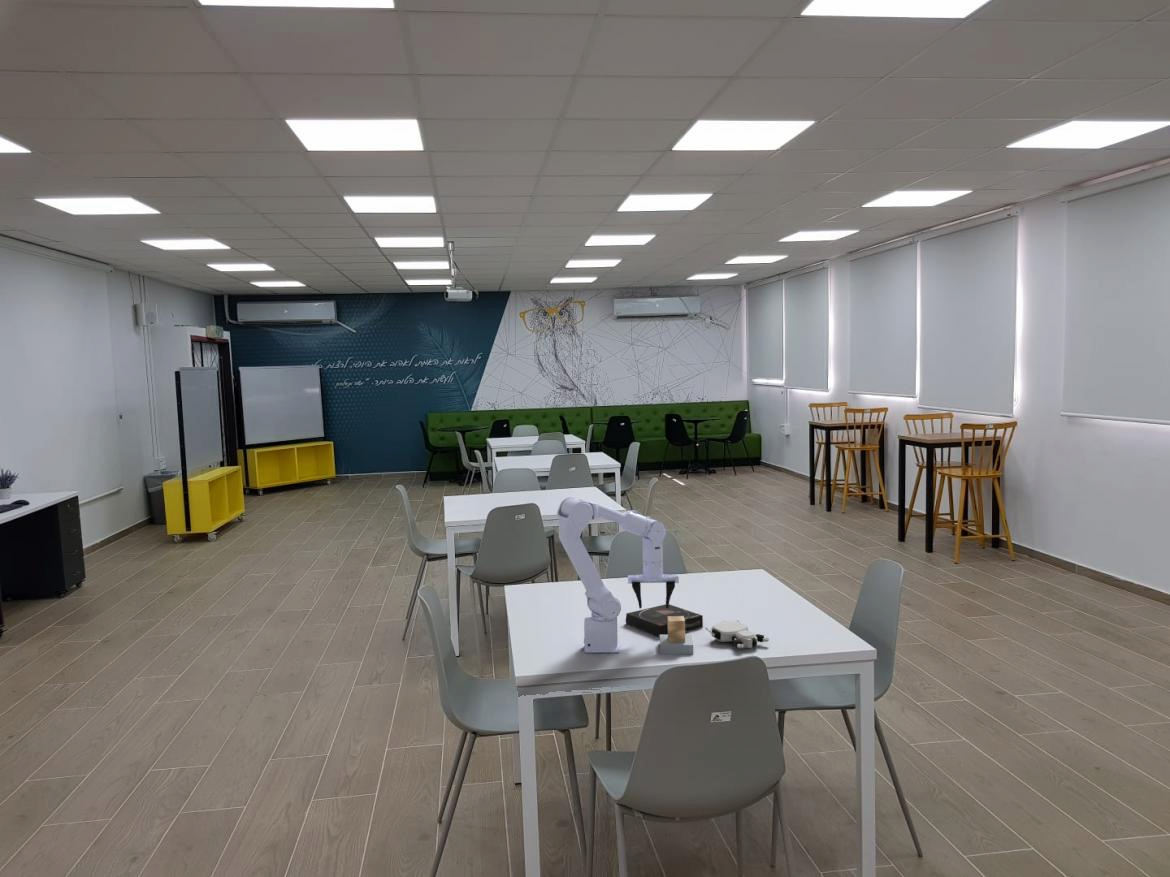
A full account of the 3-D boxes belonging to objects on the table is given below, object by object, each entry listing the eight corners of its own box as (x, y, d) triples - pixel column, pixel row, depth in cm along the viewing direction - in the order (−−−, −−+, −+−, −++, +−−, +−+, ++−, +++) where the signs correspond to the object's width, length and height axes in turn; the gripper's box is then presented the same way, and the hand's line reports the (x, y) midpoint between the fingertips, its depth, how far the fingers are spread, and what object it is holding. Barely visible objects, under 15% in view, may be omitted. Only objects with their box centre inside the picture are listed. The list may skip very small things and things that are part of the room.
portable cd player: (666, 615, 259) (666, 603, 258) (702, 628, 244) (702, 615, 244) (625, 625, 250) (625, 612, 249) (660, 639, 235) (660, 626, 235)
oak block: (669, 642, 223) (668, 621, 223) (667, 637, 228) (667, 616, 227) (685, 642, 223) (684, 620, 223) (683, 636, 228) (683, 616, 227)
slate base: (660, 655, 222) (660, 645, 222) (659, 644, 231) (659, 634, 230) (693, 655, 221) (693, 645, 221) (691, 644, 230) (691, 634, 230)
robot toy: (771, 649, 226) (735, 631, 239) (772, 634, 225) (736, 617, 238) (738, 658, 220) (703, 639, 232) (739, 642, 219) (703, 624, 232)
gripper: (627, 564, 229) (628, 611, 230) (678, 563, 228) (679, 611, 229) (627, 558, 236) (628, 604, 237) (677, 558, 235) (678, 604, 236)
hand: (653, 607), depth 234 cm, fingers open, 7 cm apart
